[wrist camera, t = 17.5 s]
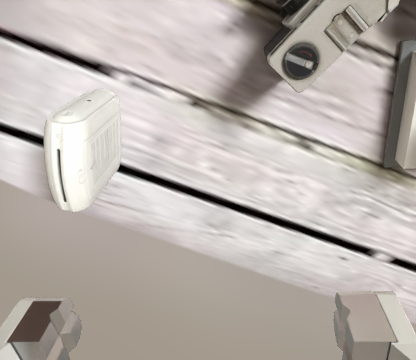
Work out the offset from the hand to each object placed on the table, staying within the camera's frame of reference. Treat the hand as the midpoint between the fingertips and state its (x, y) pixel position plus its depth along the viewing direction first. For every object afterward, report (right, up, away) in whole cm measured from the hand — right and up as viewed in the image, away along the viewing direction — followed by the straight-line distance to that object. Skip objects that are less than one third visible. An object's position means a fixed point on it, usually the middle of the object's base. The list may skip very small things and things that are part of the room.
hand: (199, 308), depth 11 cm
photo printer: (-12, +10, +32) cm, 36 cm away
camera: (+11, +22, +23) cm, 34 cm away
